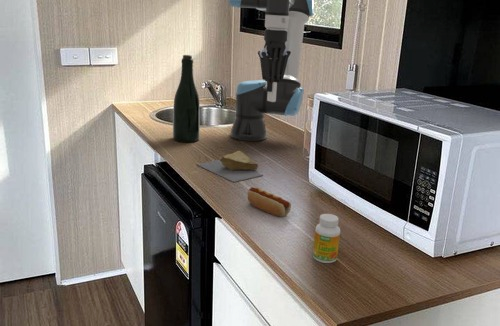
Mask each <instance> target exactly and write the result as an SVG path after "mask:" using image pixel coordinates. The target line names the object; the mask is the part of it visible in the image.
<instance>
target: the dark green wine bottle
mask: <svg viewBox="0 0 500 326" xmlns="http://www.w3.org/2000/svg"><path fill="white" fill-rule="evenodd" d="M180 62H181V73H180V80H179V84H178V86H177V89H176V91H175V94H174V98H173V111H172V113H173V115H172V116H173V117H172V139H173V140H174V141H176V142H179V143H193V142H197V141H199V139H200V133H201V132H200V129H201V128H200V126H201V125H200V123H201V122H200V119H201V118H200V116H201V114H200V112H201V111H200V109H201V107H200V98H199V93H198V92H199V91H198V90H197V86H196V84H195V79H194V70H193V69H194V60H193V56H192V55H190V54H184V55H182V58H181V61H180Z"/></svg>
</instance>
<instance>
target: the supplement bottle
mask: <svg viewBox="0 0 500 326" xmlns="http://www.w3.org/2000/svg"><path fill="white" fill-rule="evenodd" d="M339 220H340V219H339V217H338V216H337V215H335V214H332V213H322V214H320V215H319V223H317V224H316V226H315V230H314V239H313V249H312V258H313V259H314V260H315V261H317V262H319V263H323V264H332V263H334V262H336V261H337V259H338V254H339V245H340V237H341V228H340V226H339Z"/></svg>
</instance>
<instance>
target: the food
mask: <svg viewBox="0 0 500 326" xmlns="http://www.w3.org/2000/svg"><path fill="white" fill-rule="evenodd" d="M246 193H247V195H246V196H247V201H248V202H249V203H250V204H251V205H252V206H254V207H255V208H257V209H259V210H261V211H263V212H265V213H268V214H269V215H273V216H277V217H281V218H282V217H285V216H287V215H288V214H289V213H290V212H291V207H292V203H291V202H290V201H289V200H285V199H283V197H280V196H276V195H275V194H273V193H271V192H268V191H267V190H262V189H260V188H259V187H257V186H256V187H254V186H253V187H250V188H249V189H248V191H247V192H246Z"/></svg>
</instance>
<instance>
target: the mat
mask: <svg viewBox="0 0 500 326" xmlns="http://www.w3.org/2000/svg"><path fill="white" fill-rule="evenodd" d="M220 160H221V159H218V160H217V159H216V160H212V161H207V162H206V161H205V162H202V163H197V164H196V166H198V167H200V168H202V169H204V170H206V171H208V172H211V173H213V174H215V175H216V176H219V177H221V178H223V179H226V180H227V181H230V182H232V183H239V182H242V181H246V180H251V179H255V178H259V177H263V176H264V174H261V173H259V172H257V171H256V170H244V169H241V170H233V171H232V170H230V169H228V168H227V167H225V166H224V165H223V164H222V162H221V161H220Z"/></svg>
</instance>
